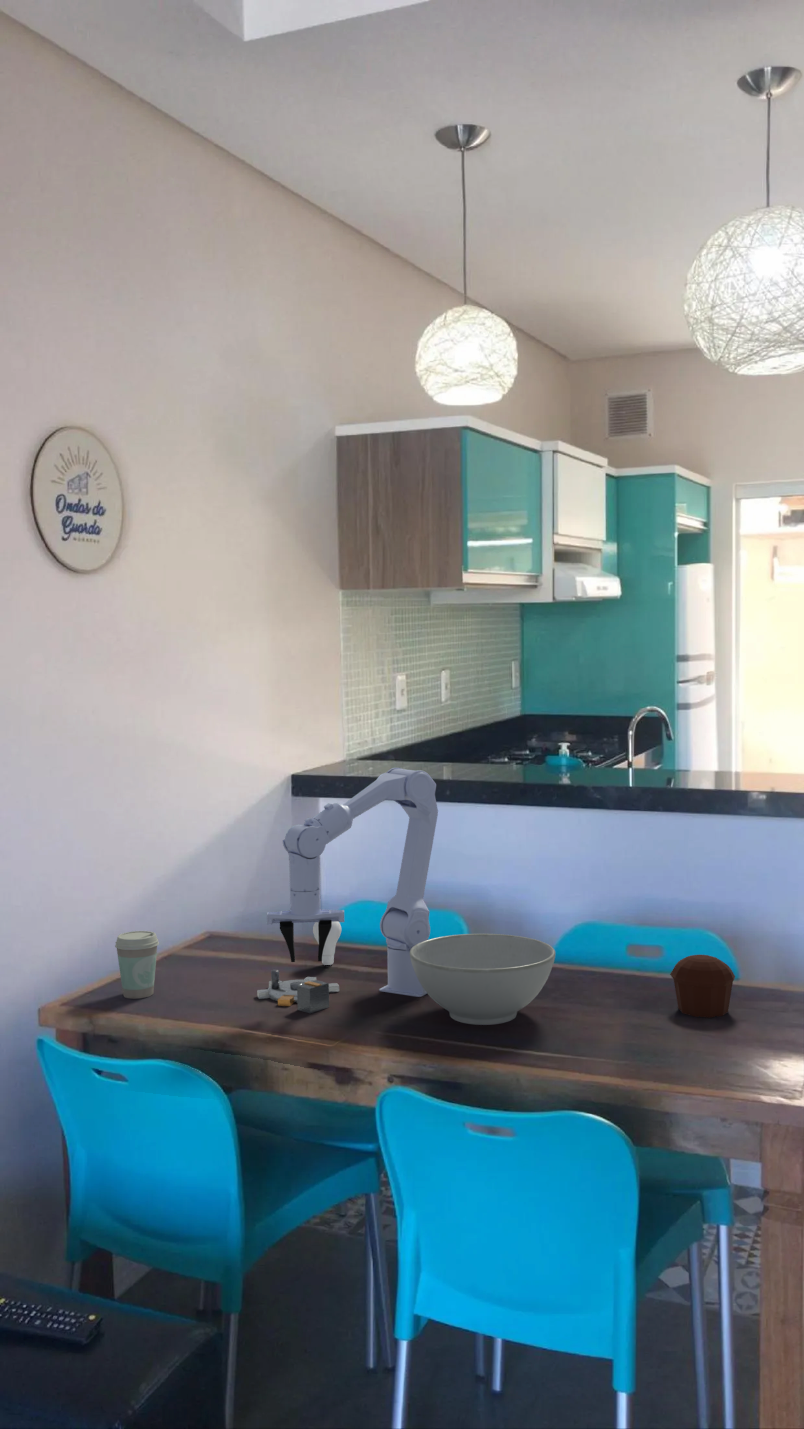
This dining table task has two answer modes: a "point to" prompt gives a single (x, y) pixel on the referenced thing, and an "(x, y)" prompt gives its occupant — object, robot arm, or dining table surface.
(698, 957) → the muffin
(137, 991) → the coffee cup
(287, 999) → the sprocket
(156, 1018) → the dining table surface
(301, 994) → the banded cube
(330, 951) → the lightbulb
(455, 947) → the decorative bowl
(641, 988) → the dining table surface
